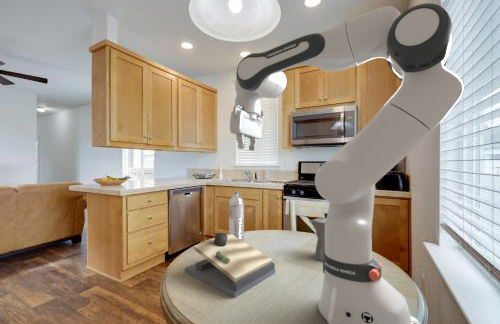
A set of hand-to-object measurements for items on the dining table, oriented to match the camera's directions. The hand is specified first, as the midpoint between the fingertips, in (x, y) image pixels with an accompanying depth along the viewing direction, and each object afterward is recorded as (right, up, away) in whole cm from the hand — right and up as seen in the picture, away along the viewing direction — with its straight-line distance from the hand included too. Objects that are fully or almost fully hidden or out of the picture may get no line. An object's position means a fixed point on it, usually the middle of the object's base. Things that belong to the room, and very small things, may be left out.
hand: (246, 149), depth 81 cm
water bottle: (-5, -43, +25) cm, 50 cm away
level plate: (-5, -36, -1) cm, 37 cm away
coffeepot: (+33, -43, +13) cm, 56 cm away
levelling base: (-6, -42, 0) cm, 43 cm away
